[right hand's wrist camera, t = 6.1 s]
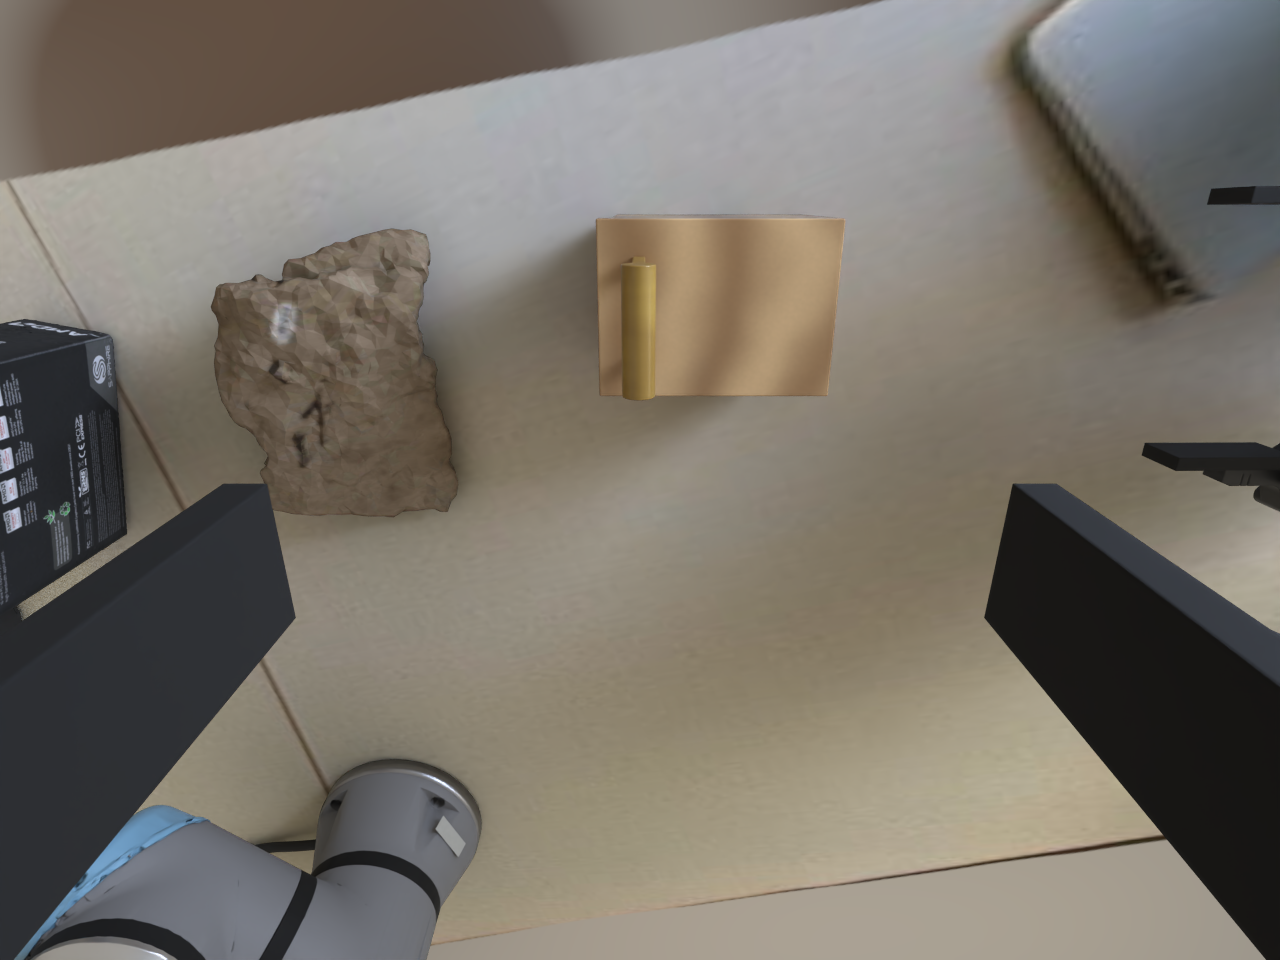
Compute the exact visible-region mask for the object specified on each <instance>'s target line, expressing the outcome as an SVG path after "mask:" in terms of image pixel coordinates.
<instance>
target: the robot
mask: <svg viewBox="0 0 1280 960" xmlns="http://www.w3.org/2000/svg"><path fill="white" fill-rule="evenodd" d="M20 622H21V616H20V612H19V610H18V609H17V607H16V606H15V607H14V608H12V609H11V610H9V611H8V612H6V613H4V614H3V615H1V616H0V636H1V635H2V634H4V633H5V632H7V631H8V630H10V629H11V628H13V627H14V626H16V625H17V624H19V623H20Z"/></svg>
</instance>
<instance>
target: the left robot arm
mask: <svg viewBox="0 0 1280 960" xmlns="http://www.w3.org/2000/svg"><path fill="white" fill-rule="evenodd" d="M1207 205H1280V186H1252V187H1234V188H1216V189H1211V192H1210V196H1209V199H1208V203H1207ZM1142 456H1144V457H1147V458H1149V459H1151V460H1153V461H1155V462H1158V463H1160V464H1162V465H1164V466H1166V467H1168V468H1171V469H1173V470H1175V471H1203V474H1204V475H1206V476H1208V477H1210V478H1213V479H1215V480H1217V481H1219V482H1222V483H1224V484H1226V485H1229V486H1239V485H1240V486H1246V485H1247V486H1259V487H1258V488H1257V489H1256V490H1255V492H1254V499H1255V500H1256V501H1257V502H1259V503H1262V504H1264V505H1266V506H1268V507H1271V508H1273V509H1275V510H1277V511H1279V512H1280V443H1279V444H1278V445H1276V446H1275V447H1273V448H1270V447H1267V446H1264V445H1262V444H1259V443H1256V442H1247V443H1145V445H1144V448H1143V452H1142Z"/></svg>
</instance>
